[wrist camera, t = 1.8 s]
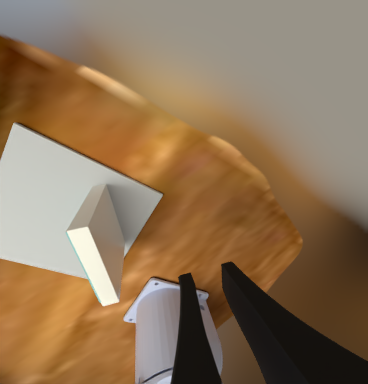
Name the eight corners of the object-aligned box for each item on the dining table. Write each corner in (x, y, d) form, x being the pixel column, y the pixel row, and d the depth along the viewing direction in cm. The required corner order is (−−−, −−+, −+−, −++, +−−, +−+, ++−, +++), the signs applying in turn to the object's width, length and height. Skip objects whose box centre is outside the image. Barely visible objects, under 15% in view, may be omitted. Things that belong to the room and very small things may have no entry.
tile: (106, 183, 17) (87, 226, 11) (125, 242, 20) (119, 301, 14) (90, 186, 17) (62, 232, 11) (112, 245, 20) (100, 307, 14)
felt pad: (162, 193, 19) (162, 195, 19) (108, 280, 22) (107, 283, 22) (16, 122, 14) (13, 122, 14) (-28, 247, 17) (-32, 250, 17)
